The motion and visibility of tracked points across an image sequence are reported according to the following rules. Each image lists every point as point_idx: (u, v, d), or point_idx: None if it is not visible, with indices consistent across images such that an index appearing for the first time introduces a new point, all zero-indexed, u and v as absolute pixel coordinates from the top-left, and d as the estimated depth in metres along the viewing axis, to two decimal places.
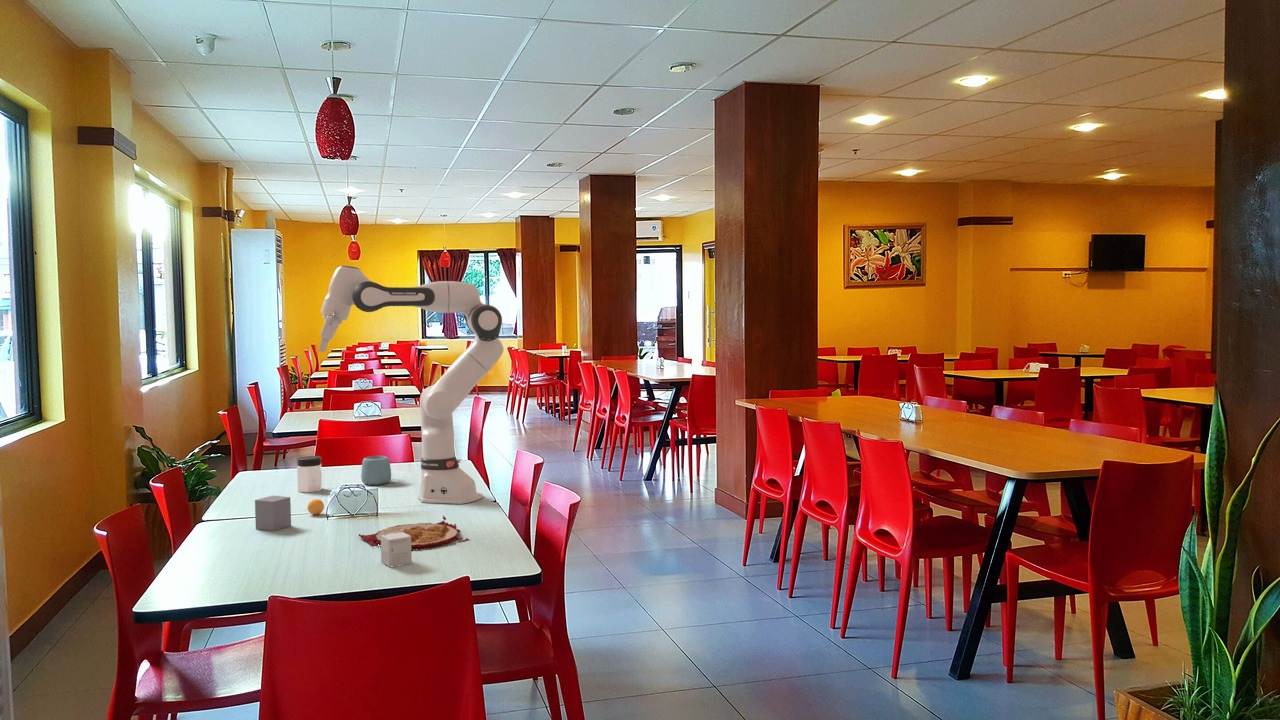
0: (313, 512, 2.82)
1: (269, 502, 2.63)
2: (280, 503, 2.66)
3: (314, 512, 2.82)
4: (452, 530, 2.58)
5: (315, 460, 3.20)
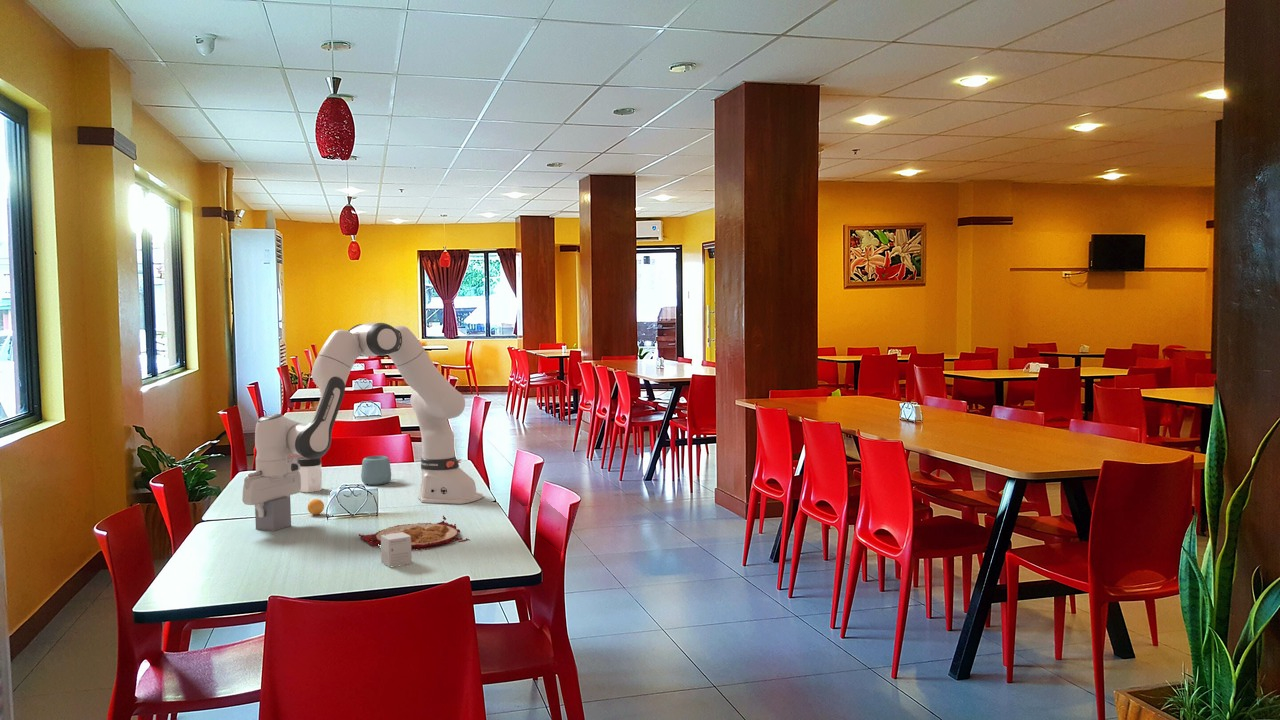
0: (313, 512, 2.82)
1: (269, 502, 2.63)
2: (280, 503, 2.66)
3: (314, 512, 2.82)
4: (452, 530, 2.58)
5: (315, 460, 3.20)
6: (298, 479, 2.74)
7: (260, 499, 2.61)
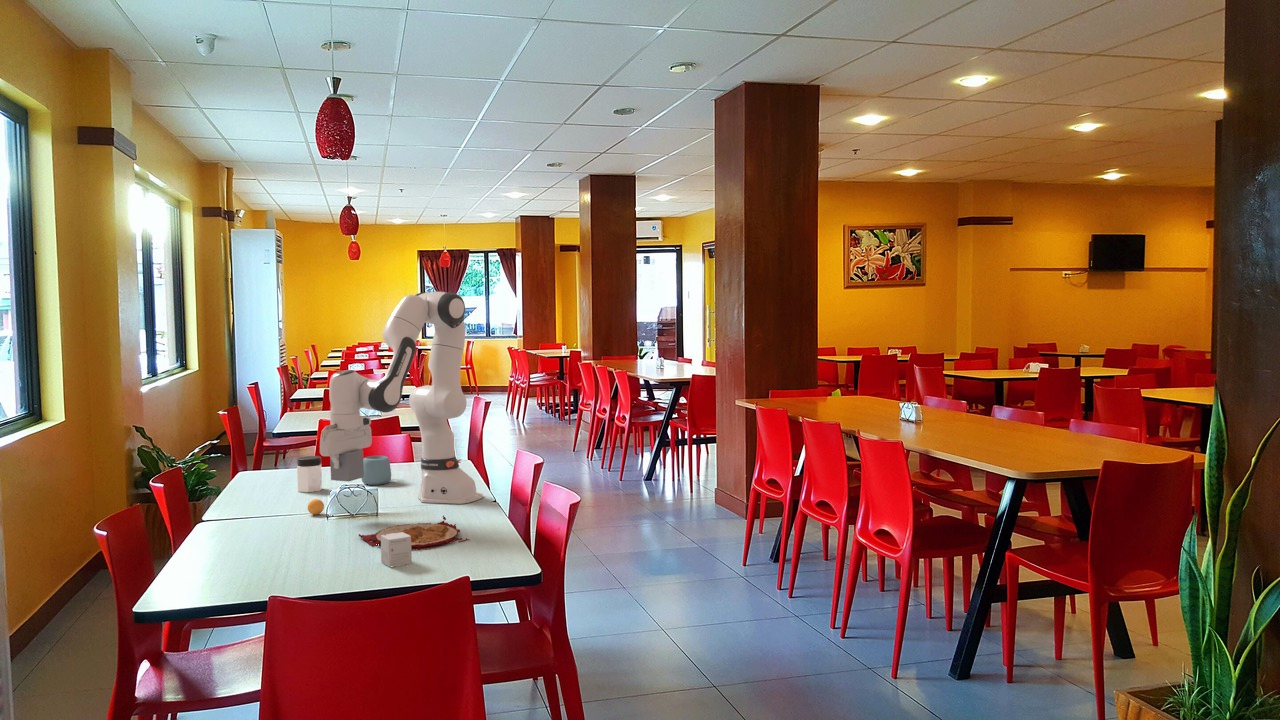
0: (313, 512, 2.82)
1: (344, 454, 2.75)
2: (354, 455, 2.77)
3: (314, 512, 2.82)
4: (452, 530, 2.58)
5: (315, 460, 3.20)
6: (369, 433, 2.85)
7: (336, 451, 2.72)
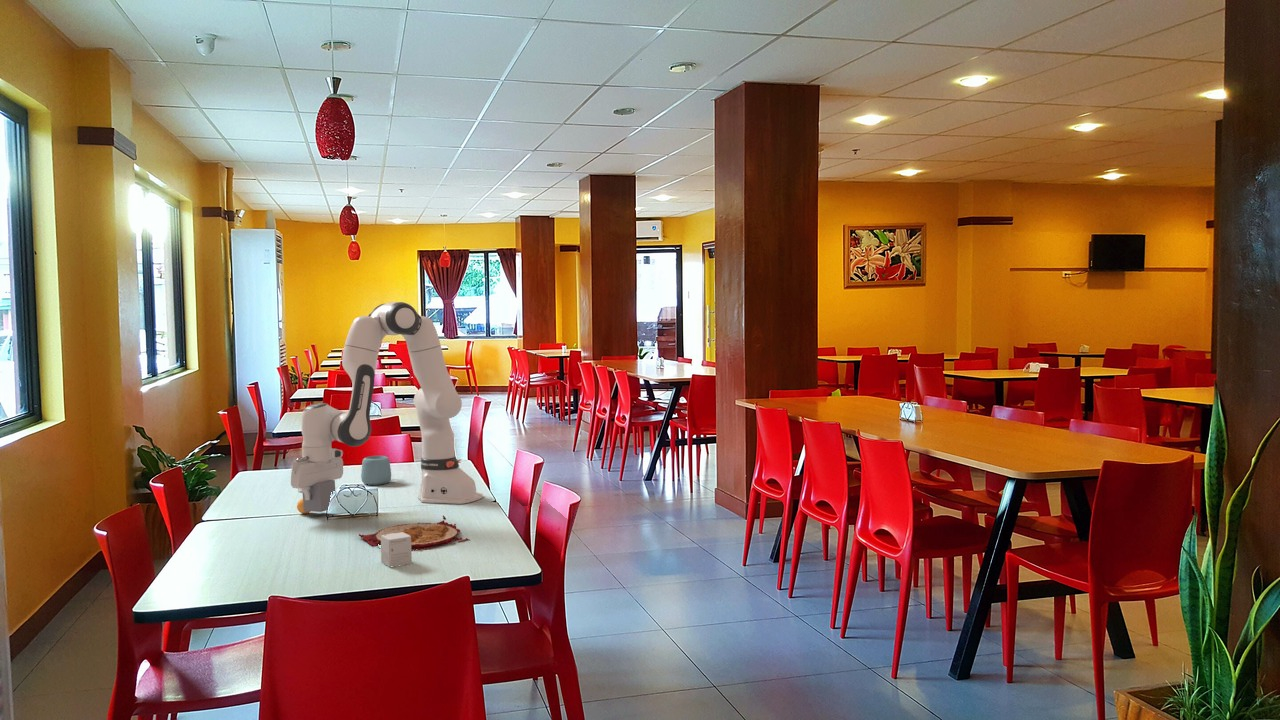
0: None
1: (316, 485, 2.79)
2: (326, 486, 2.81)
3: None
4: (452, 530, 2.58)
5: None
6: (340, 465, 2.90)
7: (307, 483, 2.77)
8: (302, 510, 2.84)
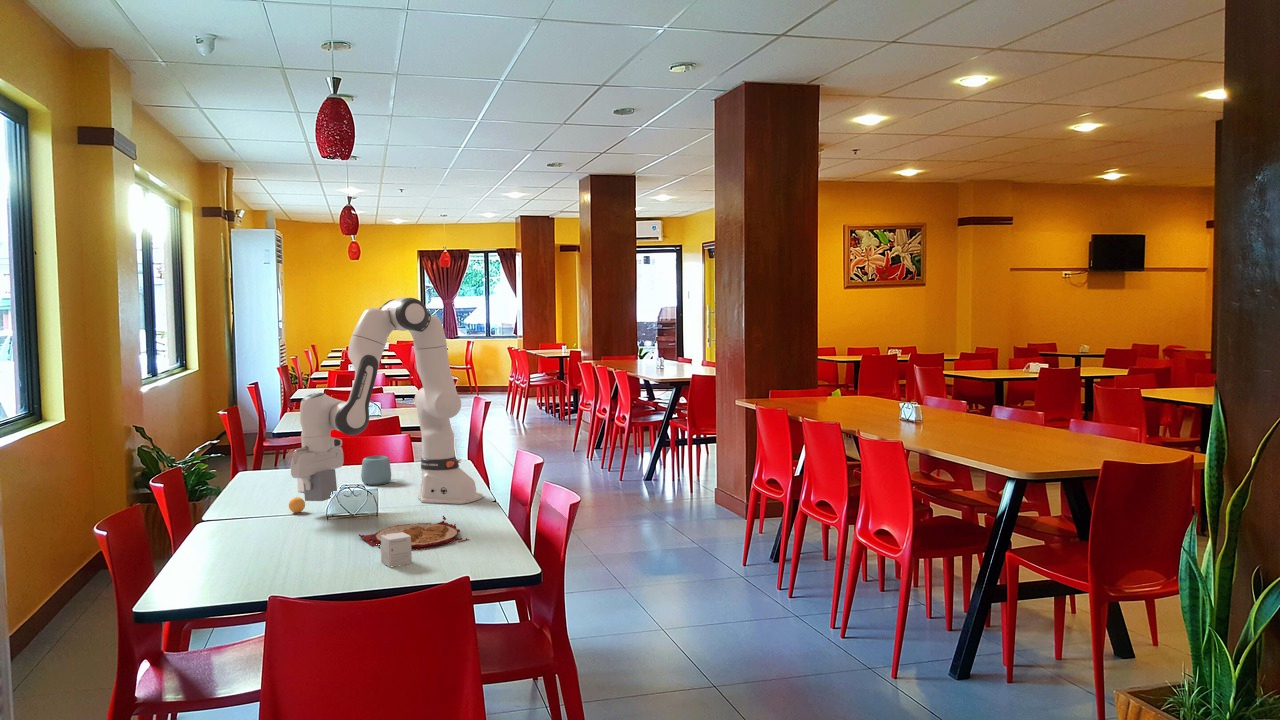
0: (290, 501, 2.86)
1: (316, 474, 2.80)
2: (326, 475, 2.82)
3: (290, 501, 2.86)
4: (452, 530, 2.58)
5: None
6: (340, 454, 2.91)
7: (307, 473, 2.77)
8: (294, 504, 2.85)
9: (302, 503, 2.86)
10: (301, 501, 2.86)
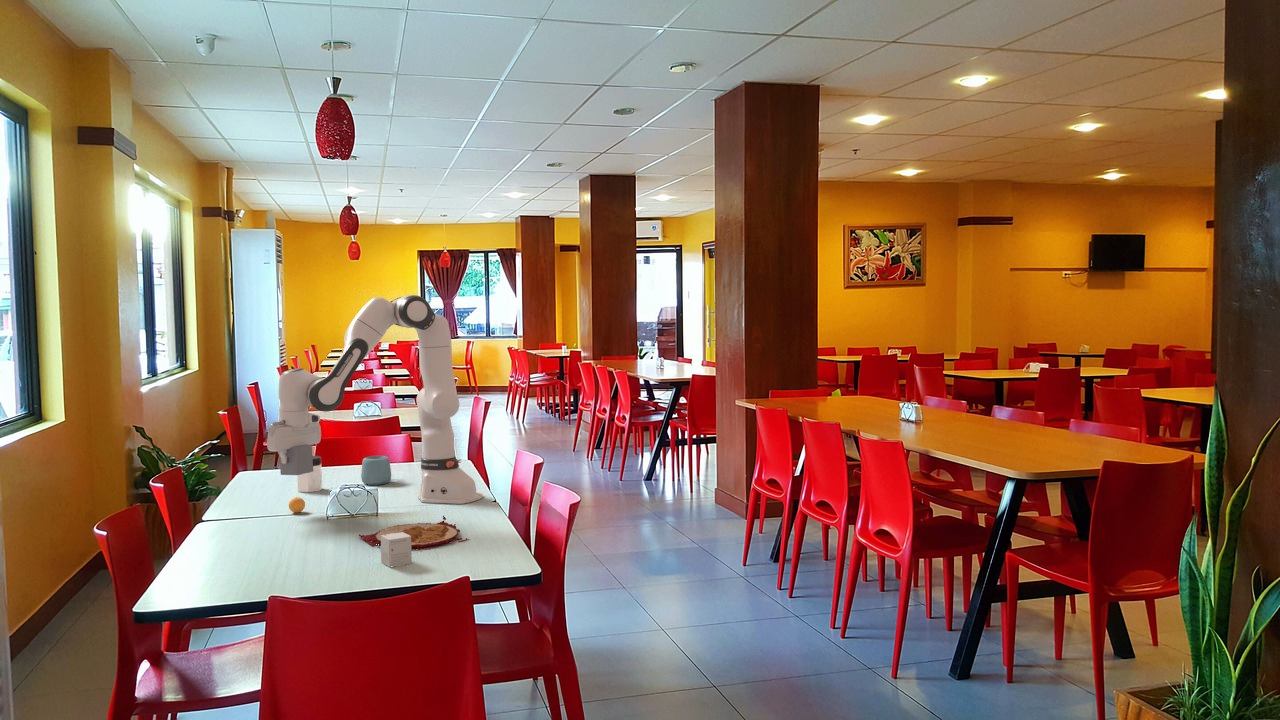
0: (290, 501, 2.86)
1: (292, 448, 2.82)
2: (302, 450, 2.84)
3: (290, 501, 2.86)
4: (452, 530, 2.58)
5: (315, 460, 3.20)
6: (318, 430, 2.93)
7: (283, 446, 2.80)
8: (294, 504, 2.85)
9: (302, 503, 2.86)
10: (301, 501, 2.86)
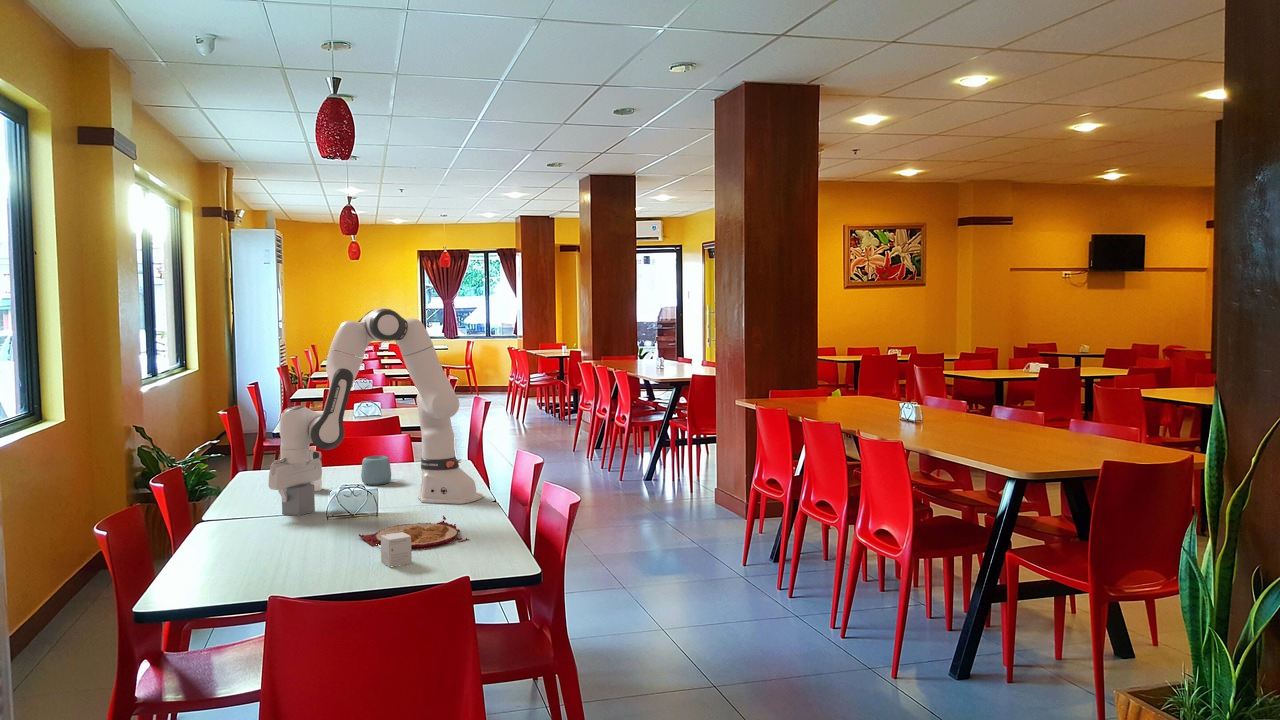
0: None
1: (295, 489, 2.83)
2: (305, 490, 2.85)
3: None
4: (452, 530, 2.58)
5: None
6: (319, 466, 2.94)
7: (285, 484, 2.80)
8: None
9: None
10: None
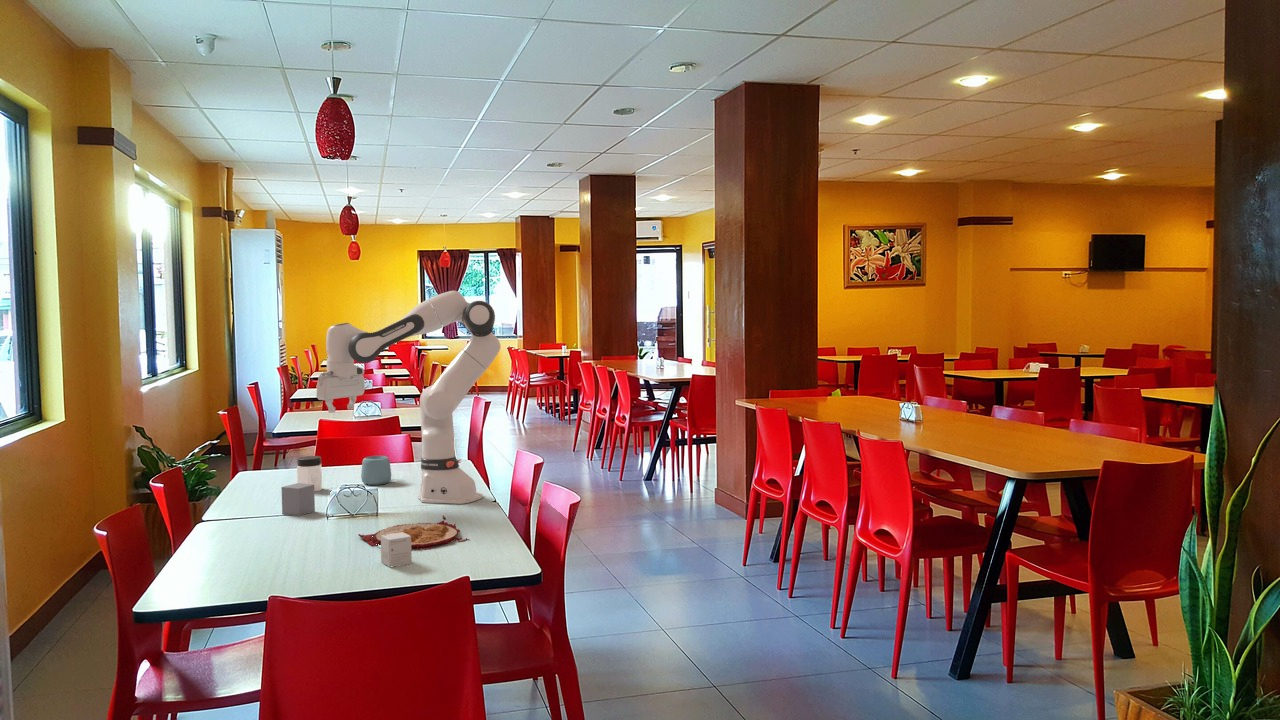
0: None
1: (295, 489, 2.83)
2: (305, 490, 2.85)
3: None
4: (452, 530, 2.58)
5: (315, 460, 3.20)
6: (362, 382, 3.10)
7: (331, 395, 2.96)
8: None
9: None
10: None
